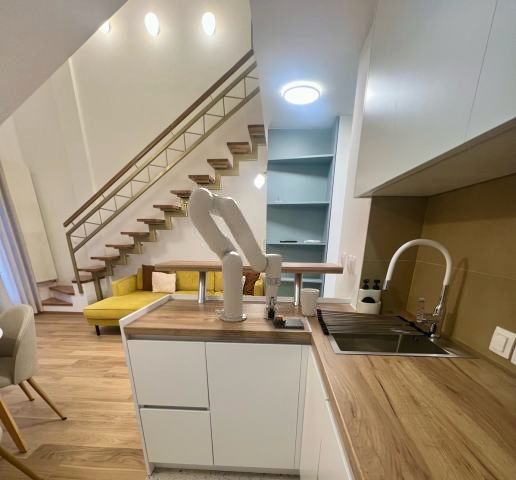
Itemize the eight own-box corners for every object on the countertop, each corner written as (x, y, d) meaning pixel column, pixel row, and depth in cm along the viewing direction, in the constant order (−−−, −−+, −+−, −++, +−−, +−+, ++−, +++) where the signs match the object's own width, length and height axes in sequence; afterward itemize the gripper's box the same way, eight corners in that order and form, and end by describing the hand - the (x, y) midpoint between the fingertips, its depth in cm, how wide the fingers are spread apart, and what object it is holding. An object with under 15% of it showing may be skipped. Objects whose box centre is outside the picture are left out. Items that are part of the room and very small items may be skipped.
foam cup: (316, 312, 153) (318, 288, 148) (317, 317, 145) (320, 292, 140) (298, 311, 154) (300, 288, 149) (299, 316, 145) (301, 291, 140)
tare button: (275, 320, 129) (276, 316, 129) (275, 318, 132) (275, 314, 132) (282, 320, 129) (282, 317, 129) (282, 318, 132) (282, 315, 132)
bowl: (264, 319, 138) (264, 310, 137) (264, 315, 145) (264, 306, 143) (277, 319, 138) (278, 311, 137) (277, 316, 145) (277, 307, 143)
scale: (272, 328, 127) (273, 322, 126) (272, 321, 137) (272, 315, 136) (303, 329, 127) (304, 322, 126) (300, 321, 137) (301, 315, 136)
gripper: (265, 277, 142) (263, 311, 149) (265, 283, 126) (263, 321, 133) (279, 278, 142) (277, 312, 149) (281, 284, 126) (279, 322, 133)
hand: (270, 316), depth 141 cm, fingers closed on bowl, 6 cm apart
